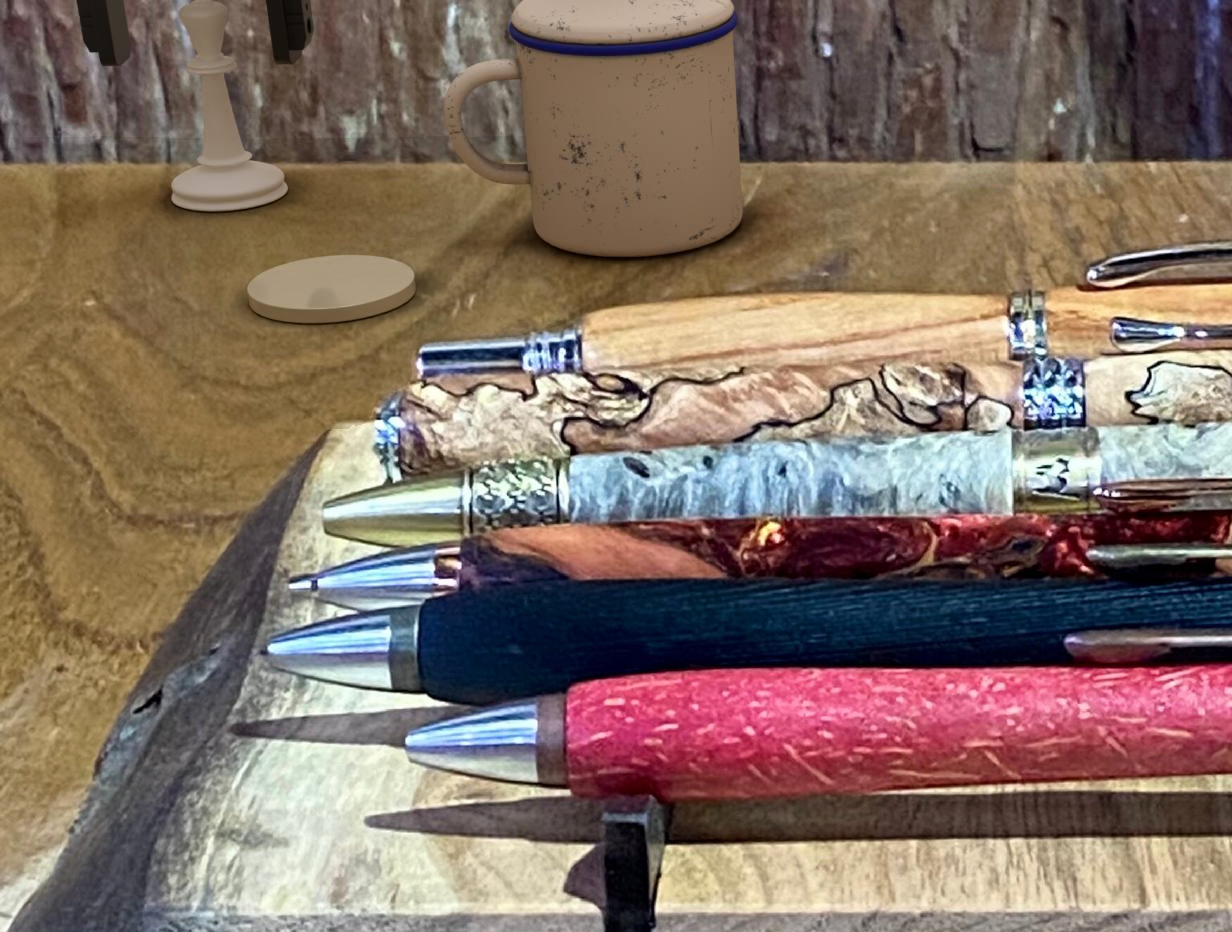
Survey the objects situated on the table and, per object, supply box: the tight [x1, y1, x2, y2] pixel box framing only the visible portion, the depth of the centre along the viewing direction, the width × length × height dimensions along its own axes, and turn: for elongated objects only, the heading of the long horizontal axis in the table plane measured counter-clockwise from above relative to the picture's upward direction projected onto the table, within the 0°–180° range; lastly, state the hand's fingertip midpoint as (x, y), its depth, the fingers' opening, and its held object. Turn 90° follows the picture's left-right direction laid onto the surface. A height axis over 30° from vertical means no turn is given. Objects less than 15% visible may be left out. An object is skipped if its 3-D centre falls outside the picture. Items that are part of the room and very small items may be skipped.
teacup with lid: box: [443, 0, 744, 258], centre depth 108 cm, size 12×9×12 cm
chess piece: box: [170, 0, 289, 212], centre depth 114 cm, size 5×5×10 cm
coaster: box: [246, 254, 417, 324], centre depth 104 cm, size 6×6×1 cm
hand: (203, 60), depth 114 cm, fingers open, 7 cm apart
